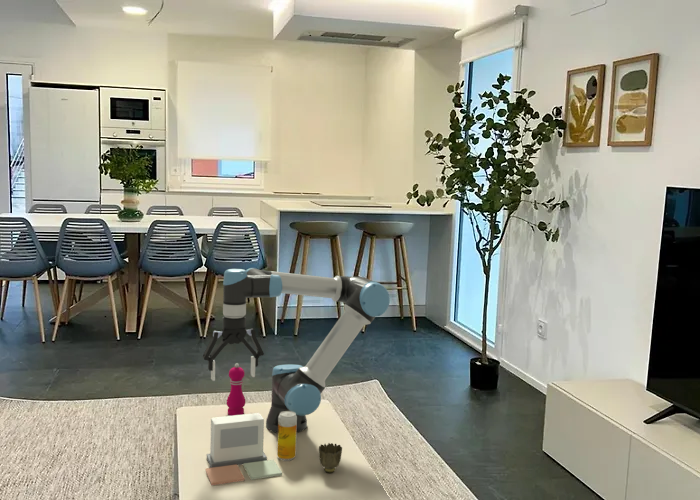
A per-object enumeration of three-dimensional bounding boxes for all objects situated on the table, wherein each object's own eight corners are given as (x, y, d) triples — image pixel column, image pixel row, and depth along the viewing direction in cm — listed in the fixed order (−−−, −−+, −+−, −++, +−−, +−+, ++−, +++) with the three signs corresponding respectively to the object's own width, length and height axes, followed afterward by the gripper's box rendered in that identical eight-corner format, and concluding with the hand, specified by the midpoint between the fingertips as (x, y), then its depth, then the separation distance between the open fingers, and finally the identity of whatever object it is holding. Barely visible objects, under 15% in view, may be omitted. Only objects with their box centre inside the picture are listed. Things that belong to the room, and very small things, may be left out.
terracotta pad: (237, 466, 209) (237, 464, 209) (244, 480, 200) (244, 478, 200) (205, 470, 205) (205, 468, 205) (211, 485, 196) (211, 482, 196)
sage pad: (273, 461, 214) (273, 459, 214) (282, 475, 205) (282, 472, 205) (243, 465, 210) (243, 463, 210) (250, 479, 201) (250, 477, 201)
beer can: (274, 454, 219) (276, 411, 218) (292, 452, 222) (293, 409, 220) (280, 462, 214) (281, 418, 212) (298, 459, 216) (299, 415, 214)
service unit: (260, 451, 221) (261, 411, 220) (266, 461, 214) (267, 419, 212) (206, 458, 214) (207, 417, 213) (211, 468, 207) (212, 426, 206)
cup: (318, 465, 212) (319, 441, 212) (341, 466, 212) (342, 443, 211) (317, 476, 205) (317, 451, 204) (340, 477, 205) (341, 452, 204)
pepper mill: (241, 417, 251) (242, 366, 249) (223, 415, 252) (224, 365, 250) (247, 411, 258) (249, 361, 256) (230, 409, 259) (231, 359, 257)
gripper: (267, 311, 227) (265, 371, 229) (194, 315, 216) (193, 378, 219) (273, 316, 220) (272, 377, 222) (198, 320, 210) (198, 384, 212)
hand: (233, 377), depth 221 cm, fingers open, 13 cm apart
